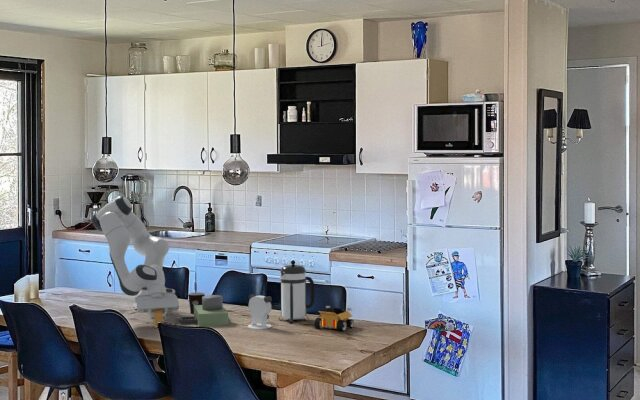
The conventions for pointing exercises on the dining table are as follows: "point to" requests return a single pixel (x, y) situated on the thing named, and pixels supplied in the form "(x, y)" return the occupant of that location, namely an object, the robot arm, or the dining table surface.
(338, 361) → the dining table surface
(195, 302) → the coffee mug
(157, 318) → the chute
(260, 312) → the panda figurine
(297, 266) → the coffee press
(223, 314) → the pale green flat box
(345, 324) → the yellow toy truck
